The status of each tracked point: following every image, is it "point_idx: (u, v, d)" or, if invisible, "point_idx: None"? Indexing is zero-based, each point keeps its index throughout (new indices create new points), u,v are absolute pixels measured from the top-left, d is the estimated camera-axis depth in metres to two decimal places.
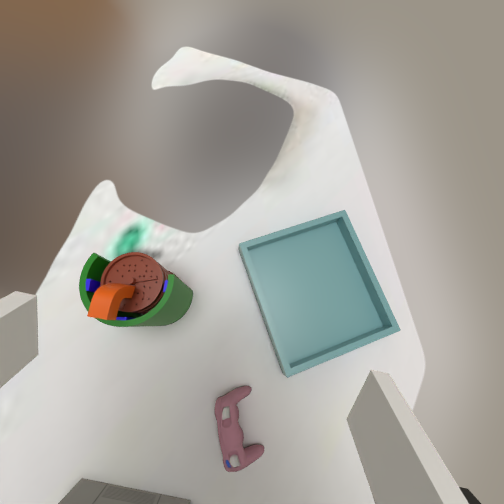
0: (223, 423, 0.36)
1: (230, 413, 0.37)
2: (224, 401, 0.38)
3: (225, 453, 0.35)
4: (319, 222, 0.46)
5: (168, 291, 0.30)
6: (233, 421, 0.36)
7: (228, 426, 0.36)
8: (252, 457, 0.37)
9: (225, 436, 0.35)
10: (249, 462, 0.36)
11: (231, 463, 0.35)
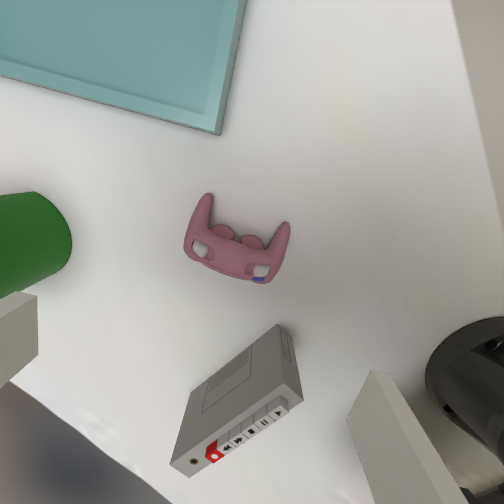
0: (208, 258, 0.24)
1: (203, 242, 0.23)
2: (186, 240, 0.24)
3: (243, 276, 0.24)
4: None
5: None
6: (214, 245, 0.23)
7: (214, 255, 0.23)
8: (279, 245, 0.25)
9: (223, 265, 0.23)
10: (279, 252, 0.25)
11: (259, 275, 0.24)
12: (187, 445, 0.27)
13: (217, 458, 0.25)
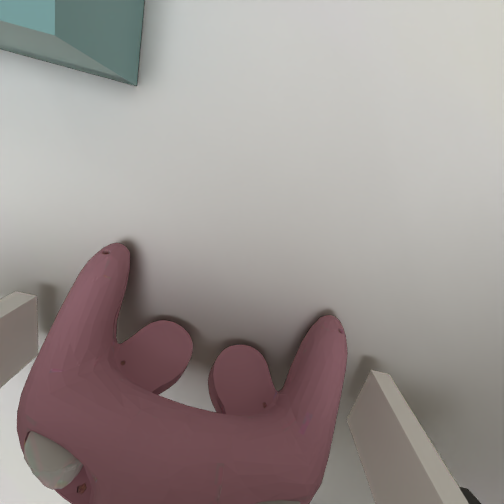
0: (86, 490, 0.07)
1: (60, 444, 0.06)
2: (17, 418, 0.07)
3: None
4: None
5: None
6: (97, 458, 0.06)
7: (96, 498, 0.06)
8: (322, 407, 0.08)
9: None
10: (326, 435, 0.08)
11: None
12: None
13: None
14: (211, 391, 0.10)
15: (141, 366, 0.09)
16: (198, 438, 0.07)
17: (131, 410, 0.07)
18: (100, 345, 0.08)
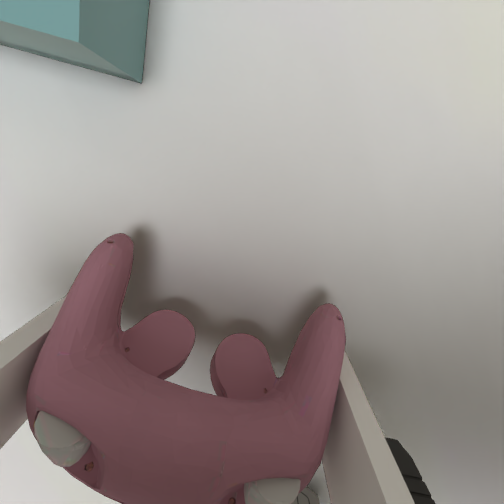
0: (93, 468, 0.07)
1: (68, 423, 0.07)
2: (27, 400, 0.07)
3: None
4: None
5: None
6: (104, 436, 0.07)
7: (104, 474, 0.07)
8: (321, 390, 0.09)
9: (137, 503, 0.07)
10: (325, 417, 0.08)
11: None
12: None
13: None
14: (213, 378, 0.10)
15: (145, 353, 0.09)
16: (201, 417, 0.07)
17: (136, 391, 0.07)
18: (105, 331, 0.08)
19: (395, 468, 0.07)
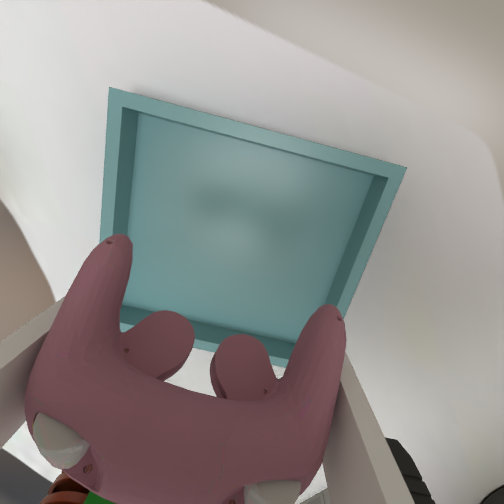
0: (92, 470, 0.07)
1: (67, 425, 0.07)
2: (25, 401, 0.07)
3: None
4: (114, 169, 0.20)
5: None
6: (103, 438, 0.07)
7: (102, 476, 0.06)
8: (321, 391, 0.08)
9: None
10: (325, 419, 0.08)
11: None
12: None
13: None
14: (213, 379, 0.10)
15: (144, 354, 0.09)
16: (201, 419, 0.07)
17: (136, 393, 0.07)
18: (104, 332, 0.08)
19: (395, 468, 0.07)
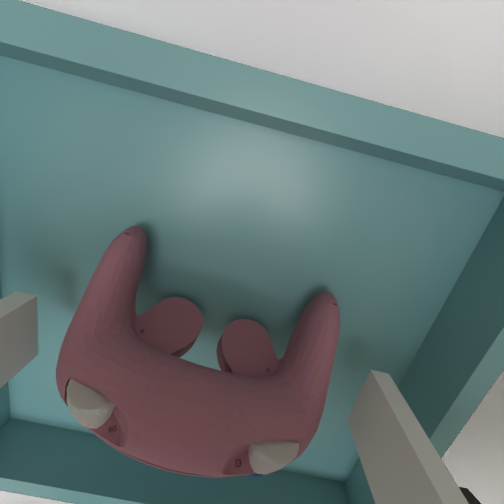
0: (116, 430, 0.08)
1: (95, 389, 0.08)
2: (56, 372, 0.08)
3: (219, 475, 0.08)
4: None
5: None
6: (127, 400, 0.08)
7: (126, 433, 0.07)
8: (317, 366, 0.09)
9: (156, 460, 0.08)
10: (321, 390, 0.09)
11: (266, 470, 0.08)
12: None
13: None
14: (219, 359, 0.11)
15: (158, 334, 0.10)
16: (211, 386, 0.08)
17: (154, 364, 0.08)
18: (124, 313, 0.09)
19: None
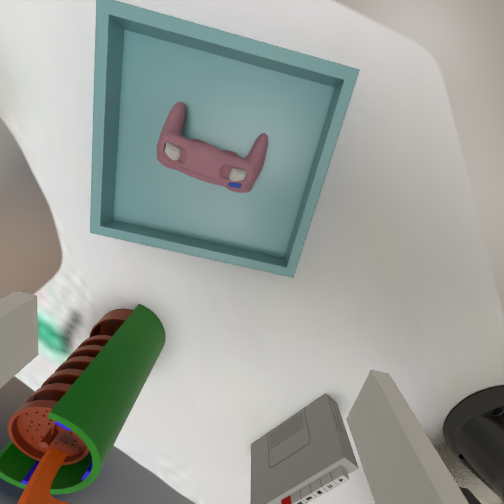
0: (181, 161, 0.23)
1: (175, 144, 0.22)
2: (158, 145, 0.23)
3: (218, 180, 0.23)
4: (103, 75, 0.23)
5: (72, 426, 0.20)
6: (186, 146, 0.22)
7: (187, 156, 0.22)
8: (256, 152, 0.24)
9: (196, 167, 0.22)
10: (257, 158, 0.24)
11: (235, 180, 0.23)
12: (263, 497, 0.35)
13: None
14: None
15: None
16: (215, 147, 0.23)
17: (194, 141, 0.23)
18: (180, 131, 0.24)
19: None
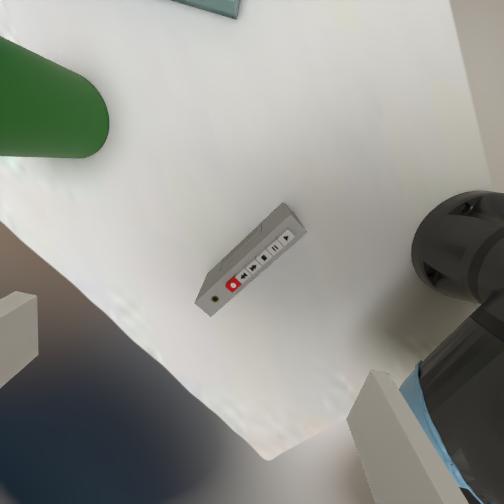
0: None
1: None
2: None
3: None
4: None
5: None
6: None
7: None
8: None
9: None
10: None
11: None
12: (209, 287, 0.32)
13: (235, 287, 0.30)
14: None
15: None
16: None
17: None
18: None
19: None
